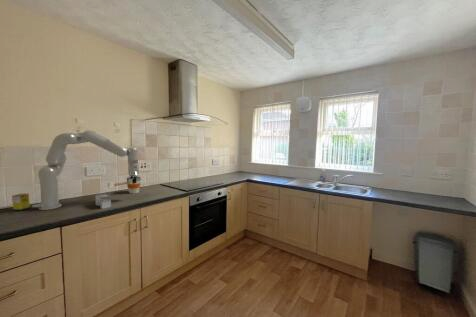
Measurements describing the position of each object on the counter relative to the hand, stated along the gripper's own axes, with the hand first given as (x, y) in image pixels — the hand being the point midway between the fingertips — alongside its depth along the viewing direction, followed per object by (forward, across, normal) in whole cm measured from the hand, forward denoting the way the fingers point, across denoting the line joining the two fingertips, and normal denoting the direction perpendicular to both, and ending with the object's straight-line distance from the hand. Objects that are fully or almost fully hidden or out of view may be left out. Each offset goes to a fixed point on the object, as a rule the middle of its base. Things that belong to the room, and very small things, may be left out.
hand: (133, 182), depth 171 cm
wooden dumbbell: (+1, 0, +8) cm, 8 cm away
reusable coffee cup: (+15, +26, -12) cm, 33 cm away
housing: (+15, 0, +23) cm, 28 cm away
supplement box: (+16, +34, +64) cm, 74 cm away
